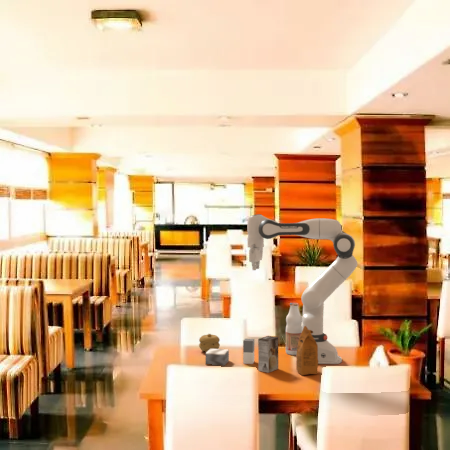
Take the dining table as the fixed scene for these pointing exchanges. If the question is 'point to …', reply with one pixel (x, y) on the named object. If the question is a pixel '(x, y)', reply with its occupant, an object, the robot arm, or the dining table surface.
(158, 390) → the dining table surface
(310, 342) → the coffee package
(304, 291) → the robot arm
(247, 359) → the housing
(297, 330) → the fruit juice
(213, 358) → the stand
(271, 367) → the coffee box
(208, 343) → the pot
